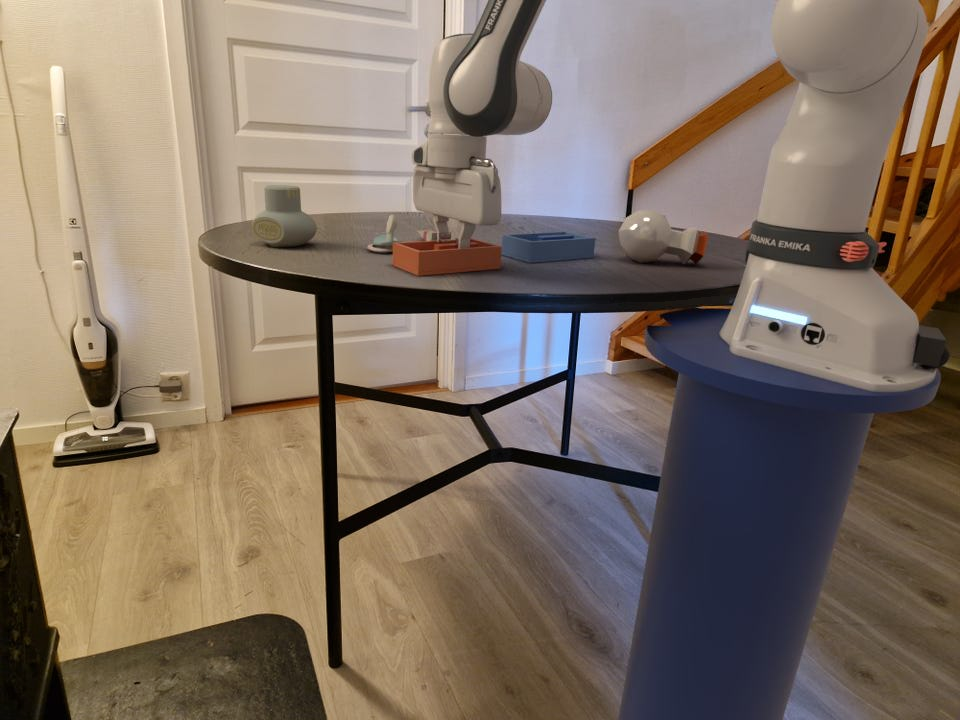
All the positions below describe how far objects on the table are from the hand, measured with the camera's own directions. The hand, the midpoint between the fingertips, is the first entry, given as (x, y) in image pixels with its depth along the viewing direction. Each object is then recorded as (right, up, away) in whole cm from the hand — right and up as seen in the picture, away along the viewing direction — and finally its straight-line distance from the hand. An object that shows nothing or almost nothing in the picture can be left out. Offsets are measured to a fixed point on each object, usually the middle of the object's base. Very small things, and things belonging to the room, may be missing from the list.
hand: (453, 247), depth 98 cm
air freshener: (-30, +2, +12) cm, 33 cm away
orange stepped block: (-1, -3, 0) cm, 3 cm away
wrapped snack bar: (-3, +3, +18) cm, 18 cm away
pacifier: (-13, +1, +11) cm, 17 cm away
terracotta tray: (-1, -3, +1) cm, 3 cm away
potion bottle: (+37, 0, +15) cm, 40 cm away
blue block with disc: (+17, +2, +15) cm, 22 cm away
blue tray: (+17, +1, +15) cm, 22 cm away
